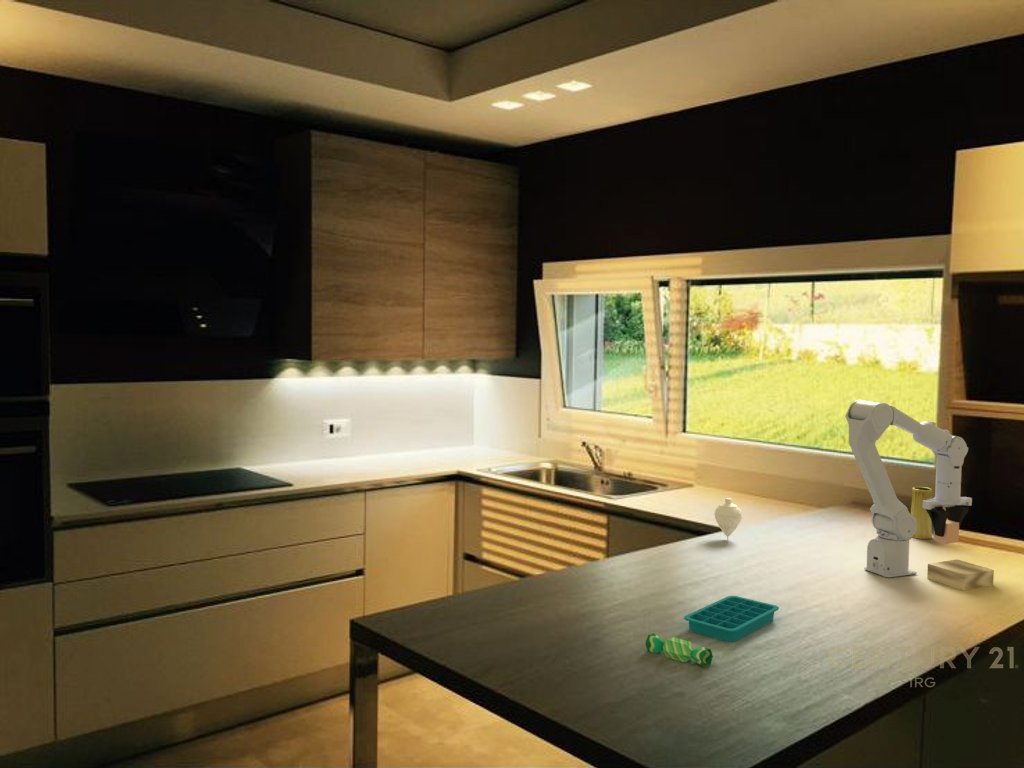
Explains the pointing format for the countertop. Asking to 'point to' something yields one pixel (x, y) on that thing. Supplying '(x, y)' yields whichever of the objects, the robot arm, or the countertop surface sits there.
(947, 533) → the terracotta block
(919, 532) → the vase
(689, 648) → the candy
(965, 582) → the beech block
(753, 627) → the ice cube tray
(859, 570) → the countertop surface
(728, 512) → the spinning top
